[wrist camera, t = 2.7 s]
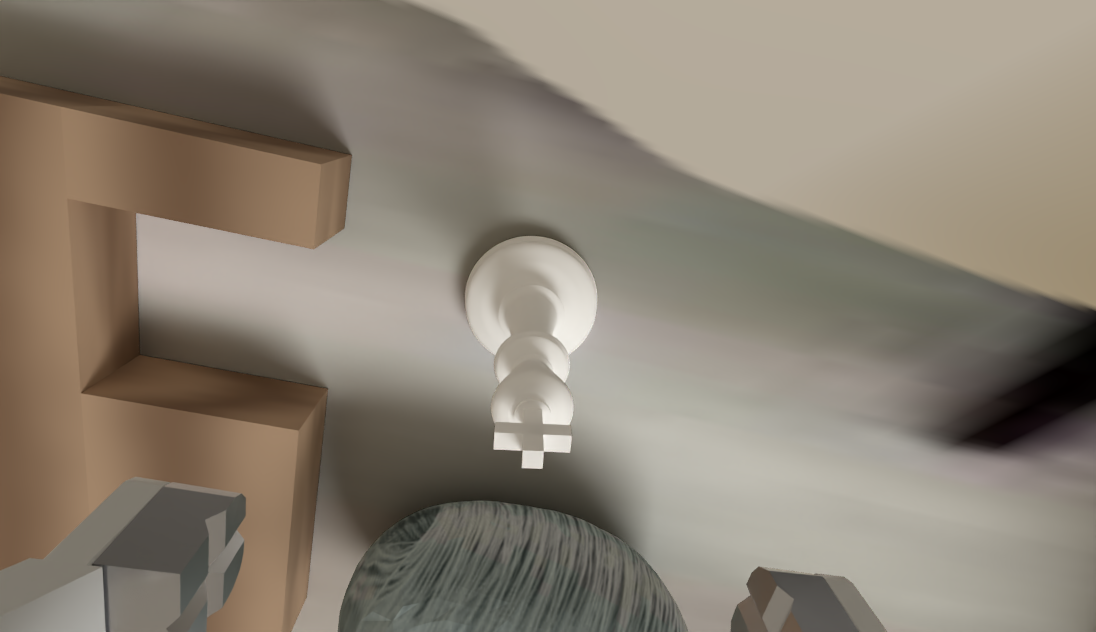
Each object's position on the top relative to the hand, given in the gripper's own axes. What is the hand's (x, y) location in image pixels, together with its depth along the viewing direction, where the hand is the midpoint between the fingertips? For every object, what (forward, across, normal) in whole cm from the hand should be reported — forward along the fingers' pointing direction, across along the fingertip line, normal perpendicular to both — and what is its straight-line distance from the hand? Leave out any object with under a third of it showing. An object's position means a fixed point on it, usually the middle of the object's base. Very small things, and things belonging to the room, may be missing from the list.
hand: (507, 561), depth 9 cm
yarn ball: (+13, -3, +12) cm, 18 cm away
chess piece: (+13, -1, 0) cm, 13 cm away
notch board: (+13, +12, +6) cm, 19 cm away
